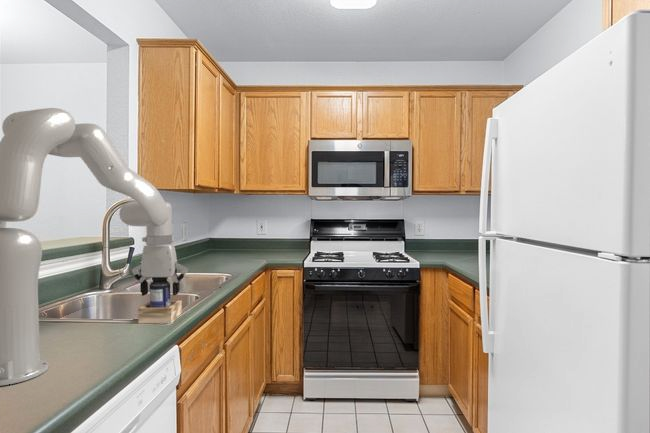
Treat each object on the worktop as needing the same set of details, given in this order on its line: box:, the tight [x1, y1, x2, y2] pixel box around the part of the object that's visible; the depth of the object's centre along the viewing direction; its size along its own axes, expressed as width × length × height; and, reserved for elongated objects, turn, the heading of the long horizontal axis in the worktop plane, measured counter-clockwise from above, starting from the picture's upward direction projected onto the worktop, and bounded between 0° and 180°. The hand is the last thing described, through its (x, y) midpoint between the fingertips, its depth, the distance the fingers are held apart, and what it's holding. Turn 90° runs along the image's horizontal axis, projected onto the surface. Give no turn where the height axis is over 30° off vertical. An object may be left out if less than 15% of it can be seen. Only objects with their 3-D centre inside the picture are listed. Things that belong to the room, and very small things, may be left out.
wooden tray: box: [137, 300, 183, 324], centre depth 131 cm, size 10×10×4 cm
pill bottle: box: [149, 277, 172, 308], centre depth 130 cm, size 6×6×11 cm
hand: (160, 294), depth 130 cm, fingers open, 9 cm apart
